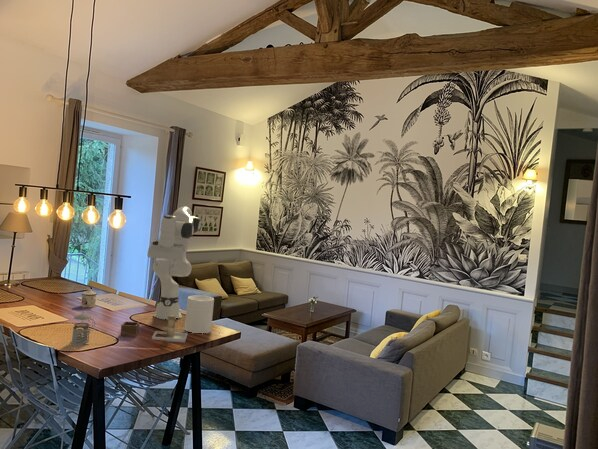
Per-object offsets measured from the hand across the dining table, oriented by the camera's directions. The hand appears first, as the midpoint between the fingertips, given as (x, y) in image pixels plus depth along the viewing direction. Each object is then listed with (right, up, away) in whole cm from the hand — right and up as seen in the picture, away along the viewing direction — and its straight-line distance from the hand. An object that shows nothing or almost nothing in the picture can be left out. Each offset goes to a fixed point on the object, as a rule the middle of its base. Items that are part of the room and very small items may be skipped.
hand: (164, 266), depth 256 cm
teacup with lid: (-65, -32, +43) cm, 84 cm away
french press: (-34, -37, -30) cm, 58 cm away
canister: (+16, -41, +14) cm, 46 cm away
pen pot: (-16, -38, -11) cm, 43 cm away
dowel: (+5, -40, -8) cm, 41 cm away
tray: (+5, -40, -8) cm, 41 cm away
